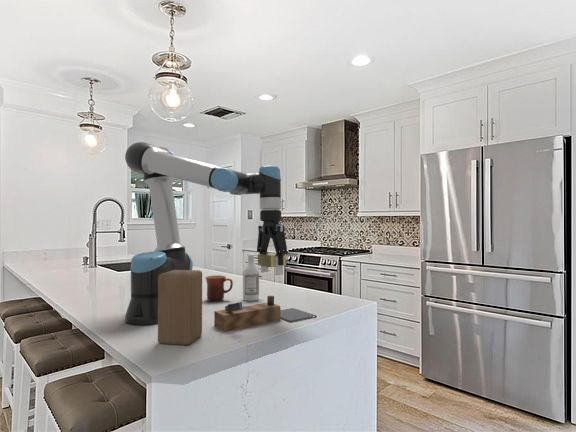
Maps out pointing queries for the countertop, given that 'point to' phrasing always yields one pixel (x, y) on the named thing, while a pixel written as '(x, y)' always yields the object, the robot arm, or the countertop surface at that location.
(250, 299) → the bath foam
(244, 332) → the countertop surface
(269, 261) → the pale yellow block
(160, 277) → the block
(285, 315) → the mat
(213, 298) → the mug
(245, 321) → the plane body
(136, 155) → the robot arm
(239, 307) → the lever
